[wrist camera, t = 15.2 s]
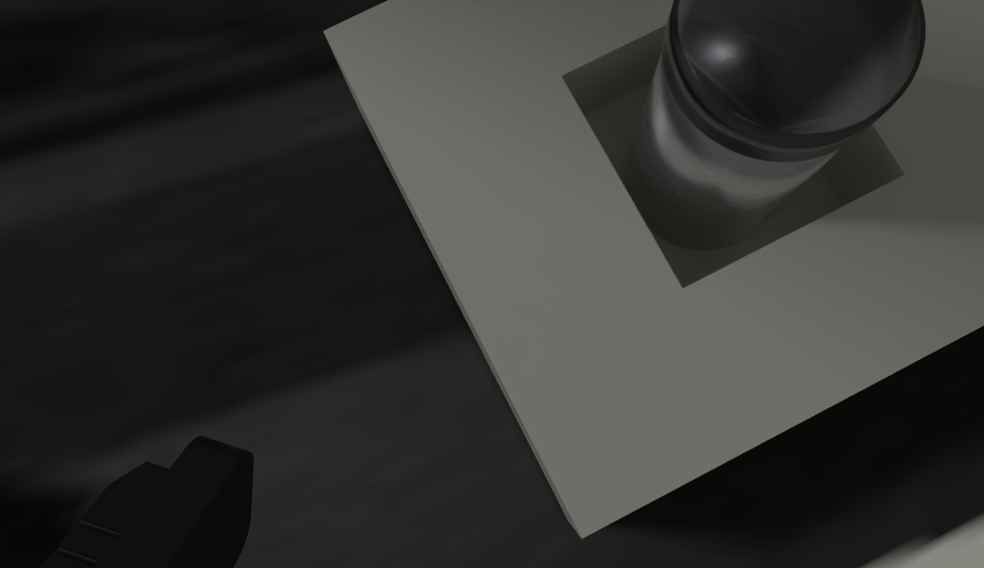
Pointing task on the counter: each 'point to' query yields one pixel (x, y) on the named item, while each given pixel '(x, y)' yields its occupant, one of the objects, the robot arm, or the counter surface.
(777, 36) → the lens
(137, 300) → the counter surface
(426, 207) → the grey block with recess
